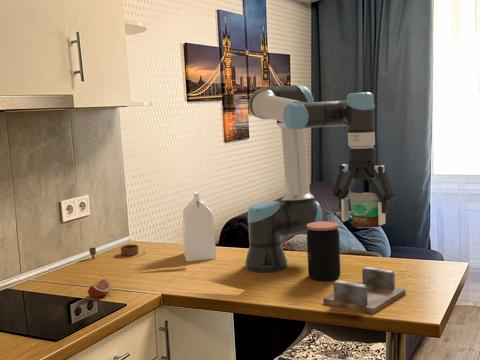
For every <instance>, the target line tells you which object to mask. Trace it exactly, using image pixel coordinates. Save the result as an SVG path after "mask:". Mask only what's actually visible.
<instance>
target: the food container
mask: <svg viewBox="0 0 480 360" xmlns="http://www.w3.org/2000/svg"><path fill="white" fill-rule="evenodd" d="M346 198H348V200H349V204H350V211H351V219H352V225H353V226H354V227H356V228H365V229H367V228H368V229H371V228H380V227H384V226H385V225H386V224H383V225H379V220H378V202H380V201H381V200H380V199H379V197H378V196H377V194H376V192H368V191H367V192H352V191H351V190H350V191H349V192H348V194H347V197H346ZM386 215H387V213H385V218H386Z"/></svg>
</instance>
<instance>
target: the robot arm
mask: <svg viewBox="0 0 480 360" xmlns="http://www.w3.org/2000/svg"><path fill="white" fill-rule="evenodd" d="M374 97H375V96H374V94H373V93H372V92H369V91H367V92H354V93H353V92H352V93H349V94H347V96H346V100H331V101H330V100H329V101H316V102H315V101H314V97H313V94H312V92H311V91H310V90H309V88H308V87H306V86H305V85H299V84H298V85H296V84H292V85H277V86H276V85H273V86H271V85H270V86H263V87H260V88H258V89H256V90H255V91H253V93H252V94H251V96H250V97H249V100H248V109H249V112H250V113H251V115H253V116H254V117H256V119H257V118H258V119H260V120H274V121H276V125H277V126H278V127H279V128H280V129H281V139H282V140H281V142H282V153H283V154H282V155H283V157H282V158H283V168H284V185H285V194H284V196H283V197H282V199H281V200H282V204H281V203H280V201H278V200H271V201H263V202H262V201H261V202H258V203H255V204H252V205H251V206H250V207H249V208H248V210H247V223H248V241H249V242H248V243H249V247H248V251H247V255H246V259H245V263H244V264H245V269H246V270H247V271H249V272H254V273H260V274H261V273H263V274H264V273H265V274H267V273H277V272H280V271H283V270H286V269H288V259H287V257H286V254H285V251H284V248H283V243H282V239H283V238H284V237H291V236H292V237H293V236H299V235H306V236H307V231H308V228H307V224H309V223H312V222H322V219H323V215H322V214H323V211H322V208H321V205H320V202H318V201H316V200H315V196H314V195H313V194H312V193H311V192H310V191H311V190H310V178H309V165H308V164H309V163H308V153H307V152H308V151H307V149H308V148H307V139H306V138H307V136H306V129H314V128H327V127H328V128H332V127H347V143H348V144H347V146H348V147H349V148H348V151H347V152H348V155H347V156H348V158H347V160H348V164H346V163H344V164H339V166H338V171H339V173H338V176H337V179H336V182H335V185H334V189H333V192H332V196H333V197H336V198H338V204H339V205H338V206H339V210H341V221H342V222H346V221H349V219H350V214H349V210H350V209H349V207H350V206H349V199H348V198H347V196H348V193H349V191H351V189H352V188H353V185H354V183H356V181H358V180H362V181H367V182H368V183H369V184H370V186H371V187H372V189H373V190H374V193H376V194H377V196H378V197H379V199H380V200H381V201H380V202H378V220H379V225H383V224H385V225H386V217H385V213H386V214H388V212H389V201H390V200H394V199H395V194H394V191H393V189H392V186H391V184H390V180H389V178H388V177H389V176H388V175H387V167H386V165H385V164H384V165H376V148H375V147H374V146H375V145H376V137H375V136H376V134H375V133H376V132H375V129H376V128H375V124H376V123H375V107H376V105H375V101H374ZM348 171H349V172H350V174H349V175H348V178H347V180H346V177H347V174H348ZM375 172H376V173H377V175H378V177H377V176H376V175H375ZM378 178H379V180H378ZM345 181H346V182H345Z"/></svg>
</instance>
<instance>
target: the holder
mask: <svg viewBox="0 0 480 360" xmlns="http://www.w3.org/2000/svg"><path fill="white" fill-rule="evenodd" d="M361 274H362V277H361V278H362V281H360V280H357V281H355V282H351V281H346V280H345V281H344V280H340V279H336V280H334V281H333V293H331V294H329V295H327V296H325V297H324V298H323V299H322V300H323V304H325V305H329V306H335V307H339V308H344V309H349V310H352V311H357V312H362V313H367V314H371V315H374V314H375V313H377V312H380V310H382V309H383V308H386V307H387V306H389V305H390V304H392V303H394V302H395V301H398V300H399V299H400V298H402V297H403V296H405V295H406V294H407V293H406V292H407V291H406V290H407V289H406V288H401V287H395V285H396V283H395V282H396V281H395V272H394V270H389V269H382V268H377V267H370V266H365V267H363V268H362V273H361Z"/></svg>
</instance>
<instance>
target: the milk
mask: <svg viewBox="0 0 480 360" xmlns="http://www.w3.org/2000/svg"><path fill="white" fill-rule="evenodd" d="M208 206H209V204H208V202H206V201H205V200H200V194H199V192H198V191H193V199H192V200H191V201H190V202H189V203H188V204H187V205H186V206H185V207H184V209H183V210H182V222H183V223H182V224H183V225H182V227H183V228H182V229H183V230H182V231H183V255H184V258H185V261H186V262H195V261H206V260H216V259H217V249H216V238H215V225H214V216H213V212H212V210H211V208H209V207H208Z"/></svg>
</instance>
